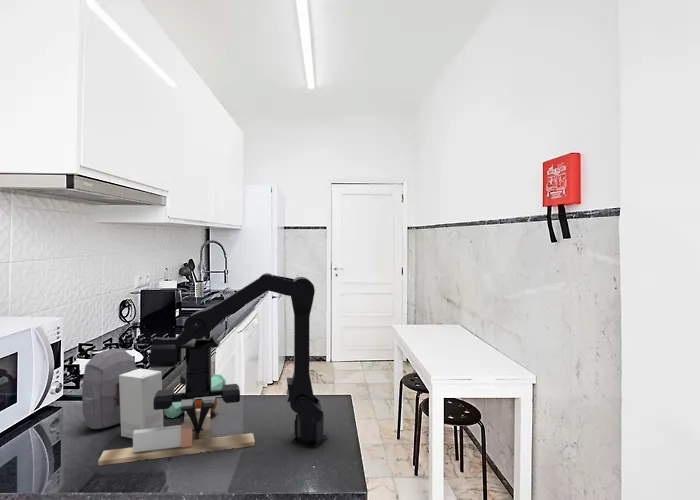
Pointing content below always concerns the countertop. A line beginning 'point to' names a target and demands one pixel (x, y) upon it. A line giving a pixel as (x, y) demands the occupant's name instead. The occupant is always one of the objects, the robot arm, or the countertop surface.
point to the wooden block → (205, 427)
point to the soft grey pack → (104, 387)
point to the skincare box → (139, 401)
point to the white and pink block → (163, 437)
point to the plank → (177, 449)
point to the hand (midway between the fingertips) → (198, 432)
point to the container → (175, 409)
